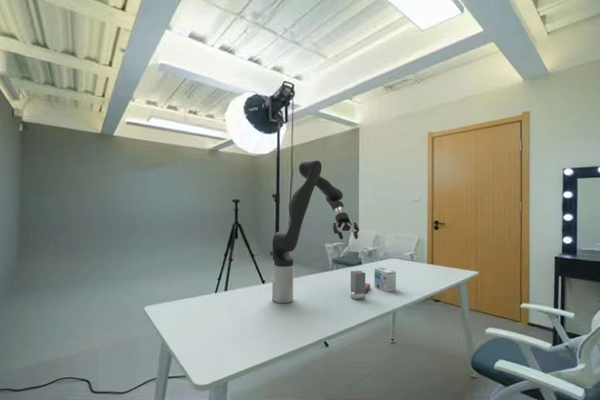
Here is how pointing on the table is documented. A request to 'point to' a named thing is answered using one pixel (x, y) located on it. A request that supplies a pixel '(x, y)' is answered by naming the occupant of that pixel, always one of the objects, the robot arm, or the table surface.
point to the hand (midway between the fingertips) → (349, 238)
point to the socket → (357, 282)
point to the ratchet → (360, 296)
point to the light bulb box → (385, 279)
